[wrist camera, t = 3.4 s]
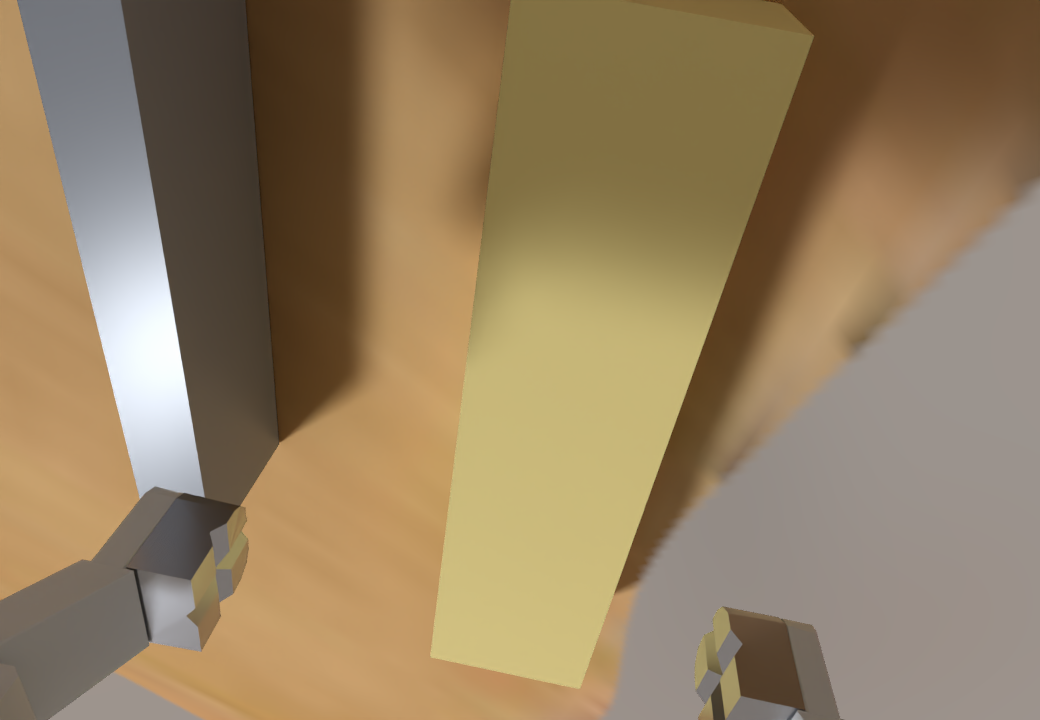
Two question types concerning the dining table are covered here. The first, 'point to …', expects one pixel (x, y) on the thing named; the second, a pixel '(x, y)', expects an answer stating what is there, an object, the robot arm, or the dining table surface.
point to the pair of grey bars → (167, 226)
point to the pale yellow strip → (596, 300)
